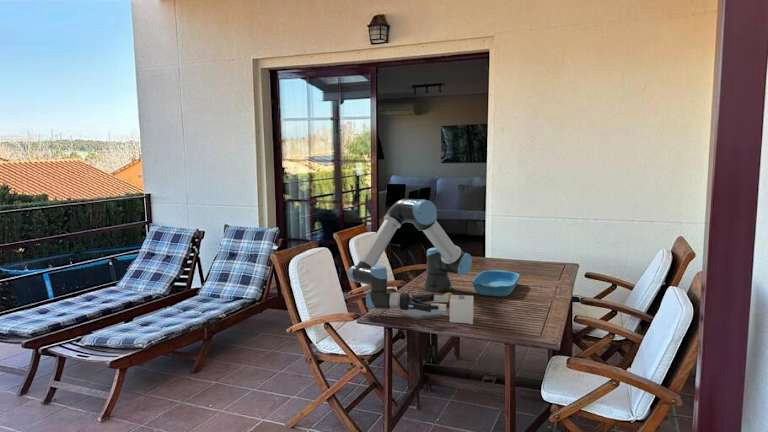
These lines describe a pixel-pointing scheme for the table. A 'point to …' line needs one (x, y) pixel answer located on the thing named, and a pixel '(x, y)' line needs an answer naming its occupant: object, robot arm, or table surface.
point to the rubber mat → (424, 314)
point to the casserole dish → (495, 282)
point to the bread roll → (448, 299)
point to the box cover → (461, 309)
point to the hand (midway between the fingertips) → (447, 303)
